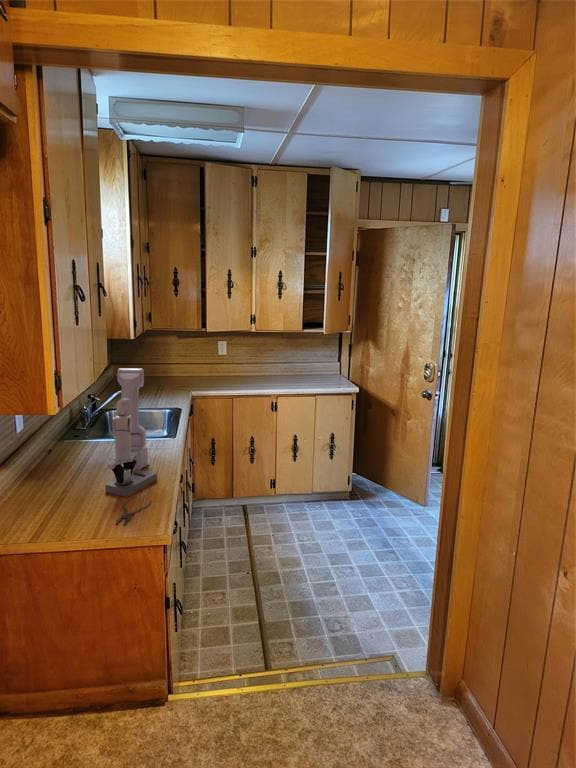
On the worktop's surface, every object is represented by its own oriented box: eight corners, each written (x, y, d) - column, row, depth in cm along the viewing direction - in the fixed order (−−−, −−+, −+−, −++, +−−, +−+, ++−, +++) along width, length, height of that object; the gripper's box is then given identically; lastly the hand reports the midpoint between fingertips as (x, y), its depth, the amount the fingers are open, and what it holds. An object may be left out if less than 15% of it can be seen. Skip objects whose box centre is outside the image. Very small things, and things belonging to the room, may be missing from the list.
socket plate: (136, 475, 200) (136, 468, 199) (156, 480, 196) (156, 473, 195) (105, 492, 183) (105, 484, 183) (126, 497, 180) (126, 489, 179)
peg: (122, 486, 188) (122, 466, 187) (131, 488, 187) (130, 468, 185) (115, 490, 184) (115, 470, 183) (124, 492, 183) (123, 472, 181)
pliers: (152, 497, 179) (145, 523, 160) (152, 500, 179) (145, 526, 160) (125, 498, 178) (114, 524, 158) (125, 500, 178) (114, 527, 158)
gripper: (118, 454, 174) (119, 489, 177) (144, 443, 187) (144, 475, 190) (102, 451, 177) (104, 486, 179) (129, 440, 190) (130, 472, 192)
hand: (124, 480), depth 185 cm, fingers closed on peg, 4 cm apart
